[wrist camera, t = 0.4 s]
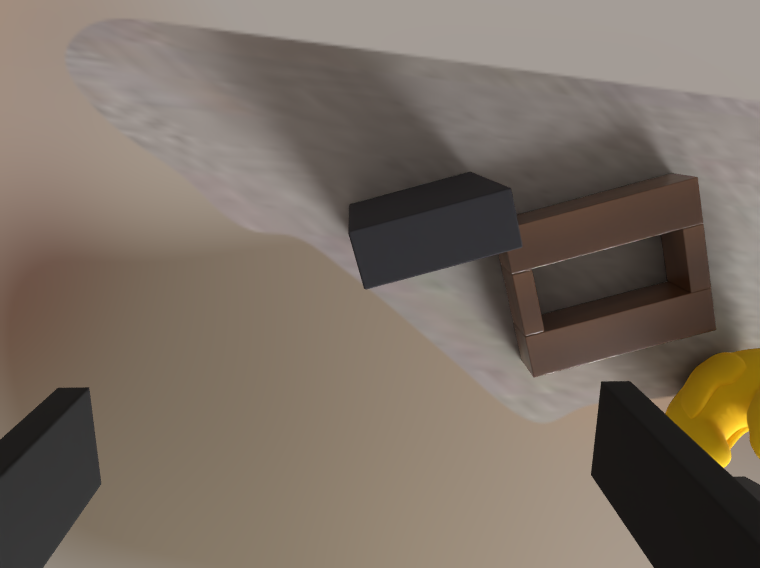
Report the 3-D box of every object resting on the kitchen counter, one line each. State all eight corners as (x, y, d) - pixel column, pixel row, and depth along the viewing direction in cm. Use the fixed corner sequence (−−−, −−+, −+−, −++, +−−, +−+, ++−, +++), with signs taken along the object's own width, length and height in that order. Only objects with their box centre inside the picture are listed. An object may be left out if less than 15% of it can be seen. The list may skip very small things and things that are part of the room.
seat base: (491, 221, 39) (502, 229, 36) (672, 172, 39) (698, 176, 36) (521, 360, 42) (533, 378, 39) (691, 315, 41) (716, 330, 38)
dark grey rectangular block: (349, 204, 38) (348, 231, 29) (471, 171, 38) (511, 187, 28) (361, 249, 39) (364, 290, 29) (481, 216, 39) (523, 247, 29)
